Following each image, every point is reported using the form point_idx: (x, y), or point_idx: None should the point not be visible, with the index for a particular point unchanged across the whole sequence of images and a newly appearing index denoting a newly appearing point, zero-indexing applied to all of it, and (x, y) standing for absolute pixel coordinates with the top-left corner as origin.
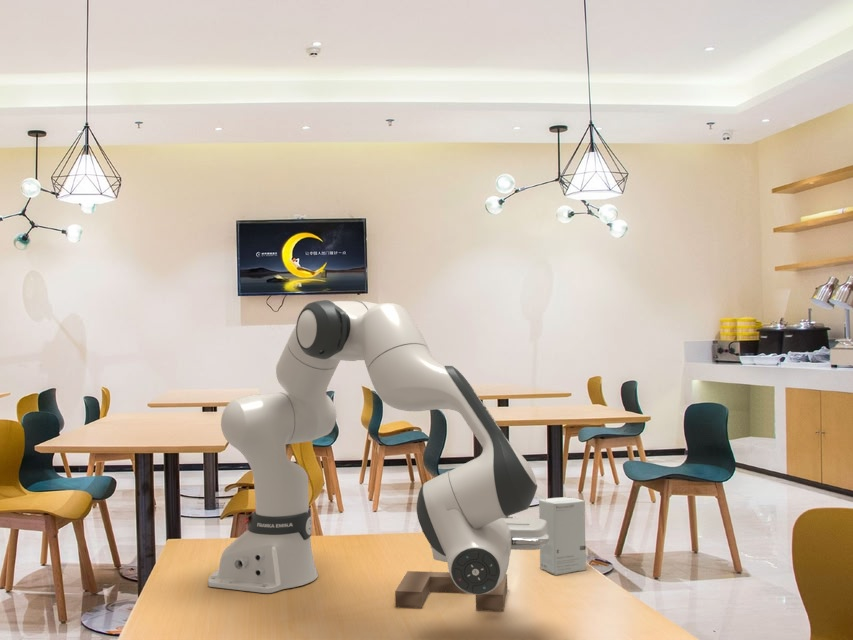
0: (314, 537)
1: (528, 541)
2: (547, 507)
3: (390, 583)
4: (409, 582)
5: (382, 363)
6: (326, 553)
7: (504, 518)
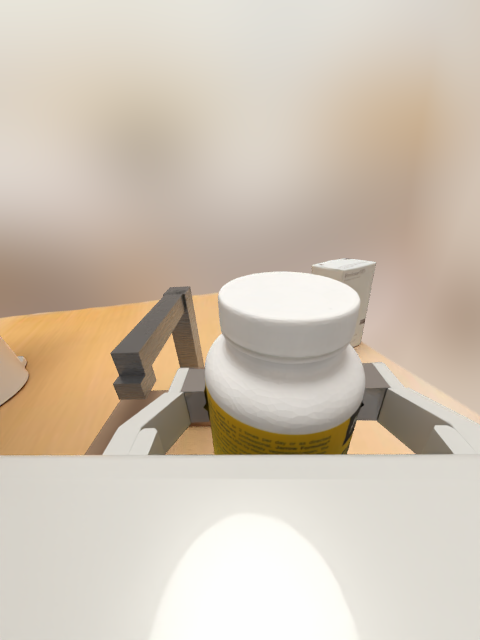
0: (84, 310)
1: None
2: (328, 276)
3: (111, 400)
4: (110, 439)
5: None
6: (76, 334)
7: (444, 489)
